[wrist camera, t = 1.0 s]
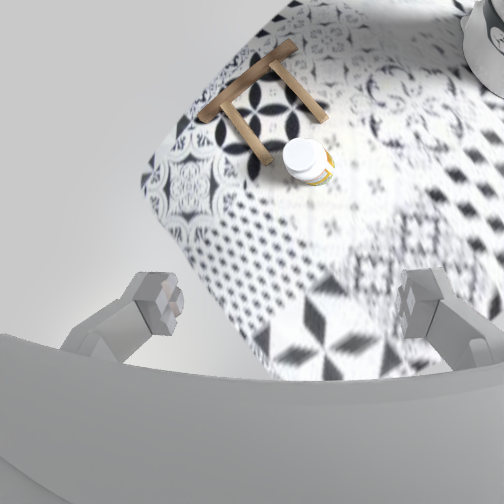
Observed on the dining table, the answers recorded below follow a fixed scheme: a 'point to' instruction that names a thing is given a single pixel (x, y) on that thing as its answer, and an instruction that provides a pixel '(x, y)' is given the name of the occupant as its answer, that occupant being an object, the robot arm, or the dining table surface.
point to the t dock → (245, 82)
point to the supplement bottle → (308, 161)
